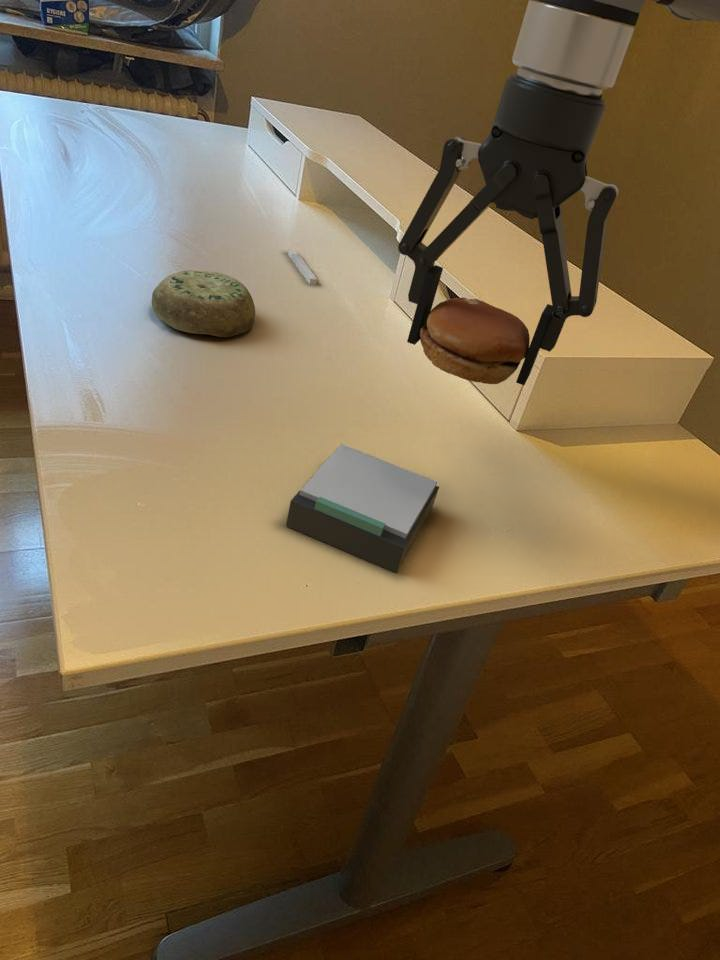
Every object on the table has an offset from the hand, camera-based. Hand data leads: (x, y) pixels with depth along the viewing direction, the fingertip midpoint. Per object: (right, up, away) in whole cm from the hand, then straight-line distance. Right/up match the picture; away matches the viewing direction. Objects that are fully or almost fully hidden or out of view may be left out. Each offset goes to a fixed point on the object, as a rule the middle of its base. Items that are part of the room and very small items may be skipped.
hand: (468, 358), depth 66 cm
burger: (0, 0, 0) cm, 0 cm away
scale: (-9, -14, +5) cm, 18 cm away
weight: (-31, +11, +33) cm, 46 cm away
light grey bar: (-19, +24, +56) cm, 64 cm away
